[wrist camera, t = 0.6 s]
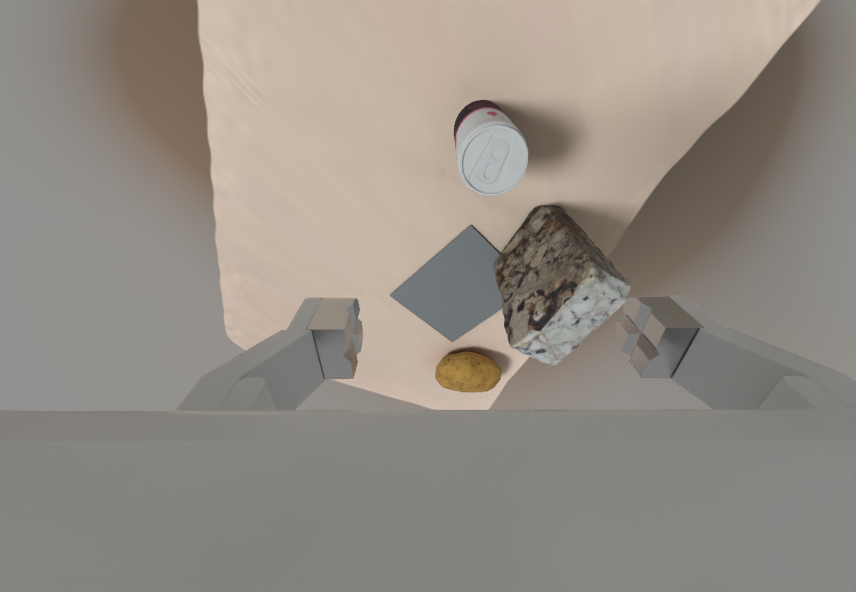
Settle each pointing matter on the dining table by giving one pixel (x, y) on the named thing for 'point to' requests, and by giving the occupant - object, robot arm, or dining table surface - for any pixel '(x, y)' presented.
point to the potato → (467, 372)
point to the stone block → (555, 286)
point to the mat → (454, 286)
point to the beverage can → (489, 149)
